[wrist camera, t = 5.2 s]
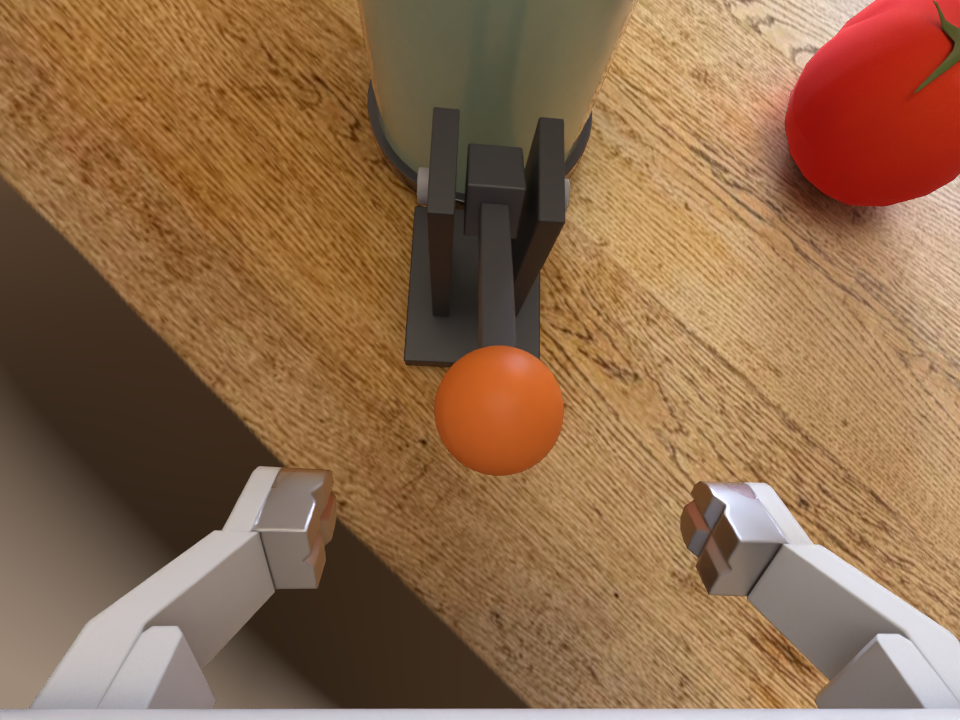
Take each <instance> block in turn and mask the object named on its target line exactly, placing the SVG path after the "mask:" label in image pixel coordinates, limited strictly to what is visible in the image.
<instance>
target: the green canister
mask: <svg viewBox="0 0 960 720" xmlns="http://www.w3.org/2000/svg"><path fill="white" fill-rule="evenodd" d="M357 2H358V8H359V14H360V19H361V25H362V30H363V36H364V41H365V47H366V52H367V58H368V63H369V69H370V74H371V80H370V84H369V89H368V105H367V106H368V114H369V121H370V125H371V130H372V134H373V137H374V141H375V143H376V146H377V148H378V150H379V152H380V154H381V156H382V158H383V159H384V161H385V162H386V164H387V165H388V167H389V168H390V169H391V170H392V171H393V173H394V174H395V175H396V176H397V177H398V178H399V179H400V180H401V181H402V182H403V183H404V184H406V185H407V186H408V187H409V188H410V189H412V190H413V191H415V192H416V193H417V177H418V169H419V167H426V168H429V165H430V150H431V134H432V119H433V108H434V107H439V108H450V109H459V110H460V118H459V138H458V158H457V178H456V198H455V209H461V210H464V202H465V183H466V169H467V155H468V145H469V144H470V143H474V144H486V145H498V146H510V147H521V148H522V149H523V159H524V169H525V166H526V162H527V159H528V155H529V152H530V148H531V144H532V141H533V137H534V134H535V130H536V127H537V123H538V120H539V118H540V117H547V118H558V119H564V145H565V179H568V178H569V176H570V175H571V174H572V172H573V171H574V170H575V168H576V166H577V164H578V163H579V161H580V159H581V157H582V154H583V152H584V150H585V147H586V145H587V142H588V139H589V136H590V131H591V126H592V108H593V106H594V104H595V101H596V99H597V96H598V94H599V92H600V89H601V87H602V85H603V82H604V80H605V78H606V75H607V73H608V70H609V68H610V66H611V63H612V61H613V59H614V56H615V54H616V52H617V49H618V47H619V44H620V42H621V40H622V37H623V35H624V33H625V30H626V28H627V26H628V23H629V21H630V18H631V16H632V14H633V11H634V9H635V7H636V4H637V2H638V0H357Z"/></svg>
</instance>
